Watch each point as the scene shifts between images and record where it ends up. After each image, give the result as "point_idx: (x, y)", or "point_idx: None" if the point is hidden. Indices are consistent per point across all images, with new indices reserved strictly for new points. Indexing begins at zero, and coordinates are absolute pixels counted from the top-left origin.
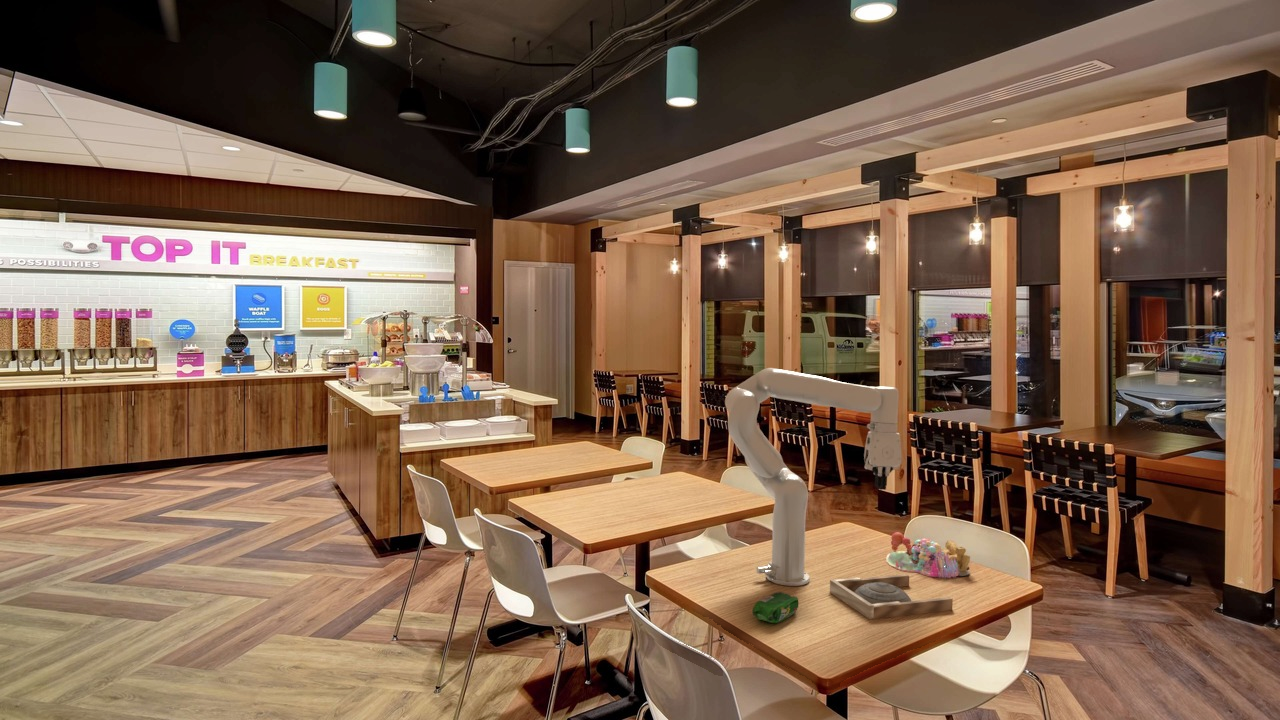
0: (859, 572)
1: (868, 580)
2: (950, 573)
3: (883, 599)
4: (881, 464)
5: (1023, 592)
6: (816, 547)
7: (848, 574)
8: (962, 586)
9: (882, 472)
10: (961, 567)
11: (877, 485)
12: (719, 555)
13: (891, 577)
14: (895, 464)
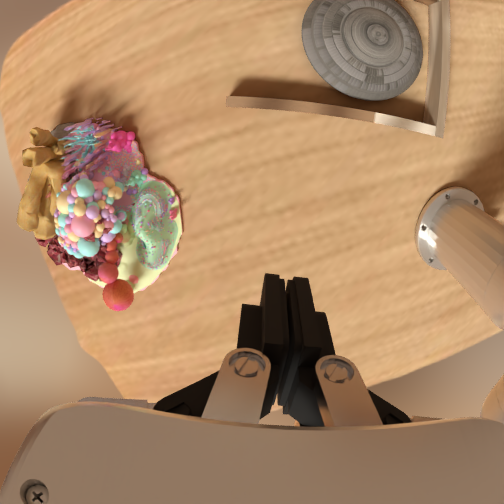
0: (287, 211)
1: (353, 108)
2: (92, 124)
3: (397, 6)
4: (419, 443)
5: (31, 33)
6: None
7: (322, 208)
8: (108, 69)
9: (261, 411)
10: (56, 141)
11: (324, 314)
12: (450, 354)
13: (284, 99)
14: (142, 431)
